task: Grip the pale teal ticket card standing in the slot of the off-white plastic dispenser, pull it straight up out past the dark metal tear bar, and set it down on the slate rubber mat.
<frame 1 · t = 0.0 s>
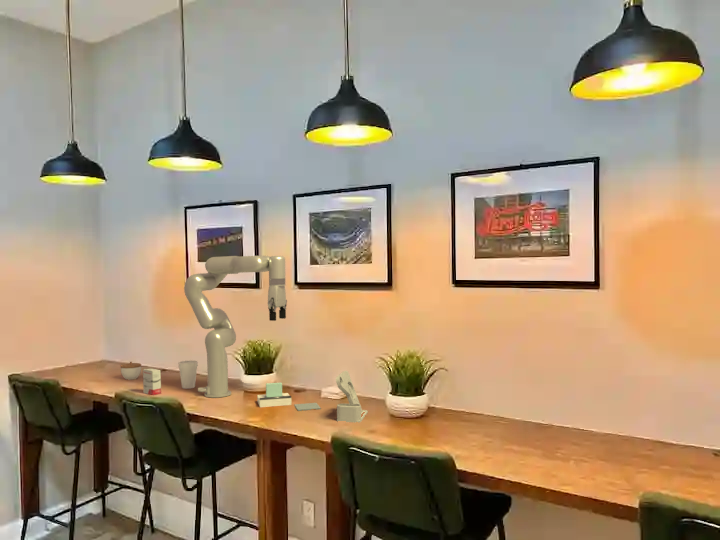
hand: (277, 319, 278), 37 cm above the table, tool pointing down, fingers open, 9 cm apart
mat: (307, 407, 264), on the table
phone holder: (352, 417, 247), on the table
foam cup: (188, 387, 308), on the table
ink box: (152, 393, 295), on the table
ticket: (274, 403, 272), resting in dispenser
dispenser: (274, 403, 272), on the table
lidded jar: (131, 378, 333), on the table
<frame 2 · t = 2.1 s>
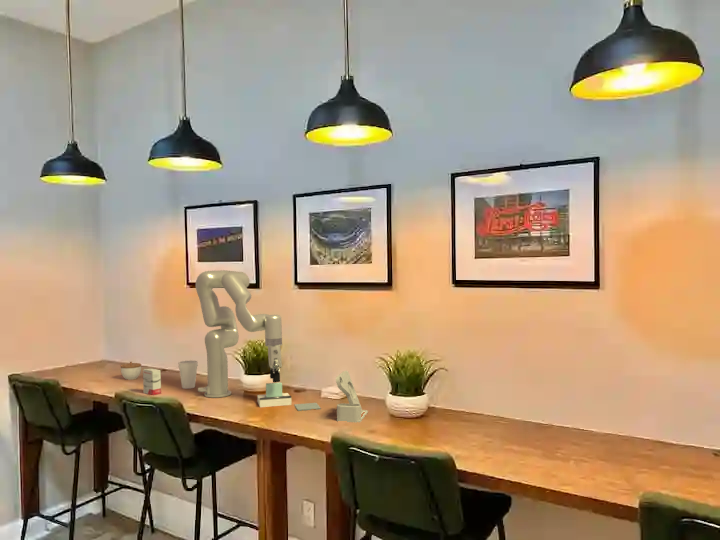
hand: (275, 380, 271), 11 cm above the table, tool pointing down, fingers open, 9 cm apart
nothing on the table moved.
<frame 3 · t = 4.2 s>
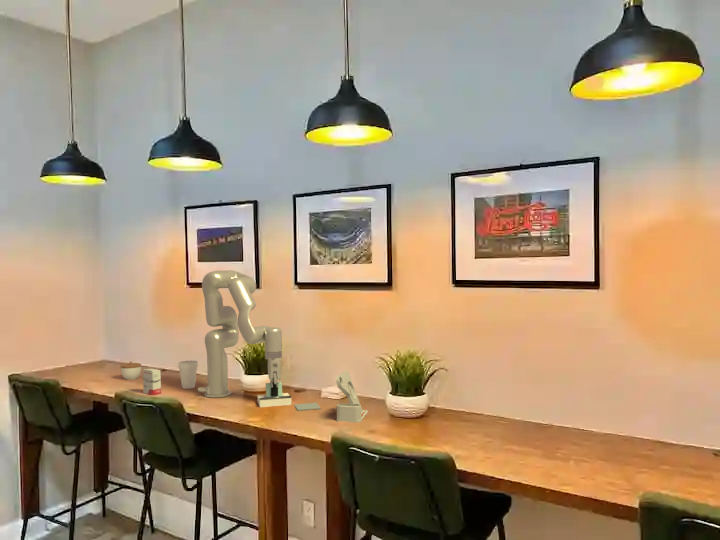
hand: (274, 395, 272), 4 cm above the table, tool pointing down, fingers closed on ticket, 2 cm apart
ticket: (274, 402, 272), resting in dispenser, touching gripper
everything else where it was.
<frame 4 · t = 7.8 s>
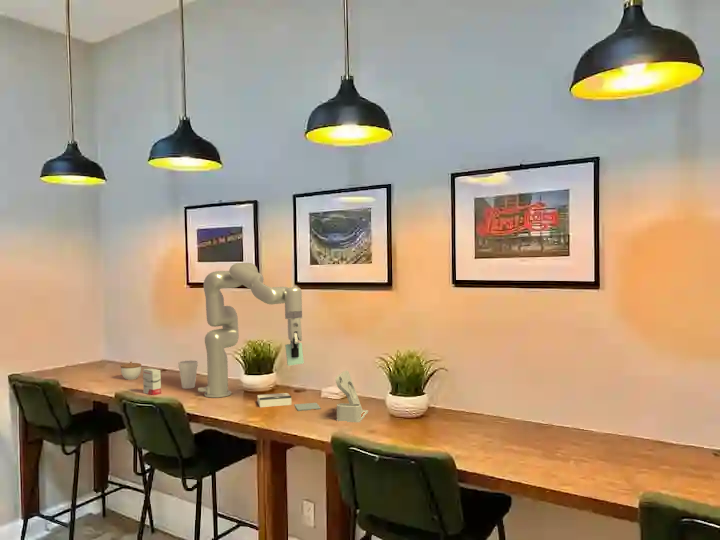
hand: (294, 356, 266), 22 cm above the table, tool pointing down, fingers closed on ticket
ticket: (295, 364, 266), point 19 cm above the table, tilted 5°, touching gripper
everything else where it was.
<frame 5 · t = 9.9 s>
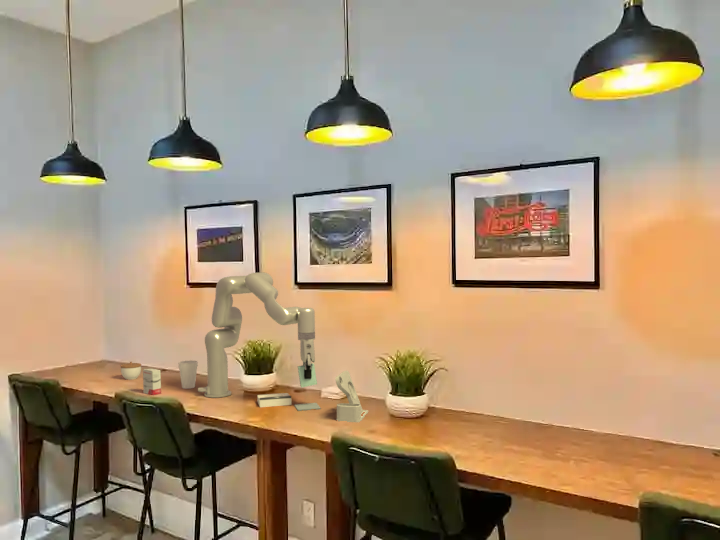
hand: (307, 377, 263), 13 cm above the table, tool pointing down, fingers closed on ticket
ticket: (308, 385, 264), point 10 cm above the table, tilted 8°, touching gripper
everything else where it was.
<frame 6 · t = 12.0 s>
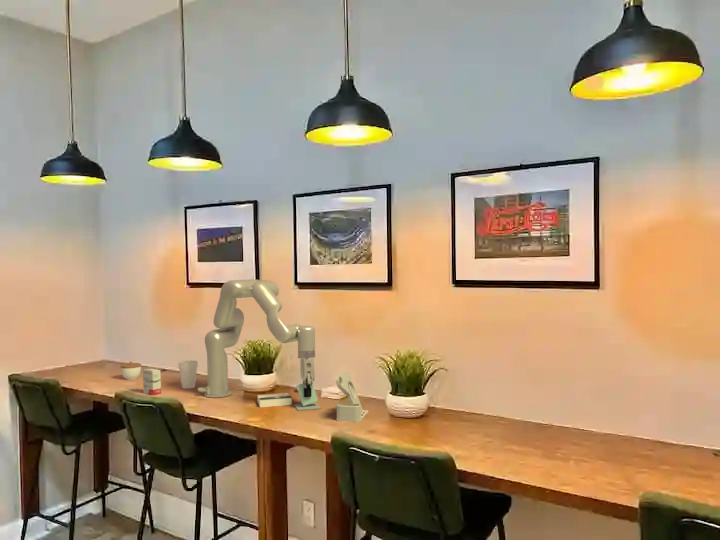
hand: (307, 395, 264), 5 cm above the table, tool pointing down, fingers closed on ticket, 2 cm apart
ticket: (310, 402, 264), point 2 cm above the table, tilted 16°, touching gripper
everything else where it was.
when the fingers open (5 cm above the table, at t = 12.0 s): ticket drops 1 cm, resting on mat.
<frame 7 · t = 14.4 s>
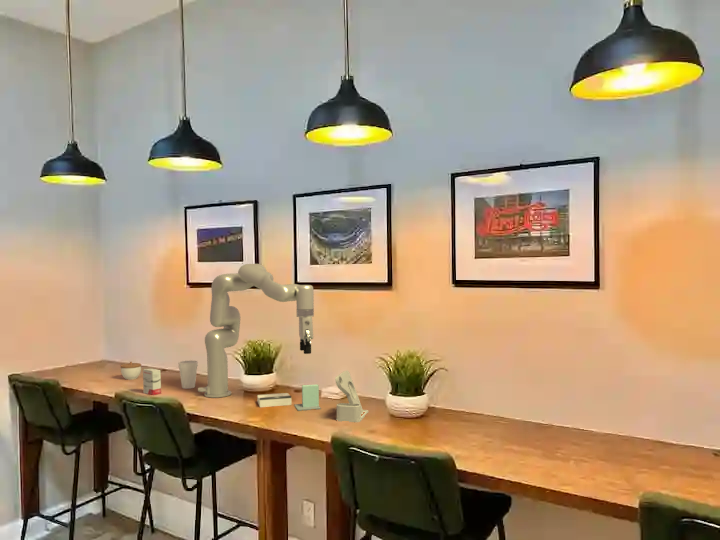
hand: (305, 351, 264), 24 cm above the table, tool pointing down, fingers open, 9 cm apart
ticket: (310, 405, 264), resting on mat
everything else where it was.
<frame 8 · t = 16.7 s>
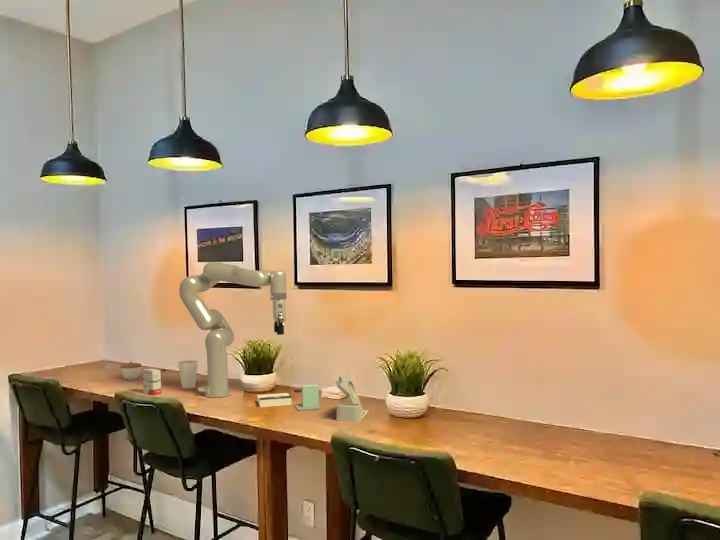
hand: (278, 333, 283), 30 cm above the table, tool pointing down, fingers open, 9 cm apart
nothing on the table moved.
at the end: ticket inside the target area on the mat (1.4 cm from its centre), point 0.5 cm above the mat's base; ticket touching mat; the gripper is holding nothing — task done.
